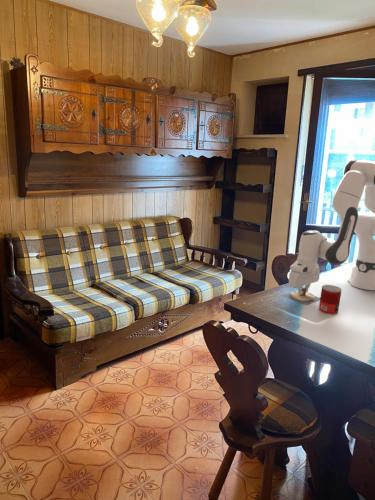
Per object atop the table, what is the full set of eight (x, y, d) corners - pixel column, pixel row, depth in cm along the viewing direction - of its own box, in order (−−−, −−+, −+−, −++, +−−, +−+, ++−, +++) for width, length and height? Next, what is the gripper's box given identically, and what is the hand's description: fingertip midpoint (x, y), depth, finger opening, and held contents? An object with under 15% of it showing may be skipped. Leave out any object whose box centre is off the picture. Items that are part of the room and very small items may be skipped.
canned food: (339, 316, 165) (343, 291, 162) (319, 313, 166) (323, 289, 164) (336, 309, 172) (340, 286, 169) (317, 307, 174) (321, 283, 171)
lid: (298, 291, 191) (300, 283, 190) (318, 298, 183) (320, 289, 182) (285, 295, 184) (286, 287, 183) (305, 303, 176) (306, 294, 175)
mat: (298, 290, 193) (298, 290, 193) (323, 299, 183) (323, 299, 183) (280, 296, 184) (280, 295, 184) (306, 306, 174) (306, 305, 174)
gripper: (313, 260, 188) (309, 287, 192) (287, 266, 175) (284, 295, 179) (324, 263, 184) (320, 291, 187) (299, 270, 171) (295, 299, 174)
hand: (302, 293), depth 183 cm, fingers closed on lid, 3 cm apart
